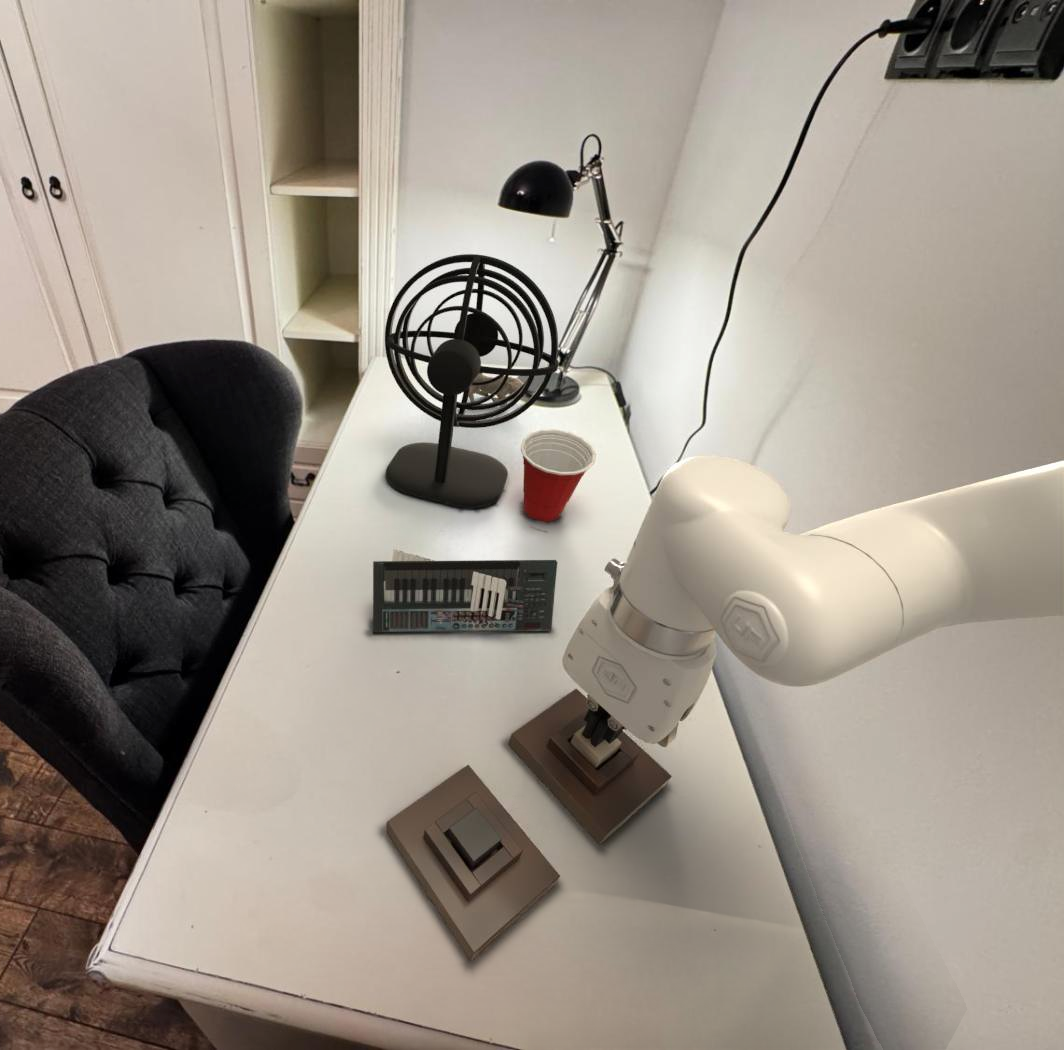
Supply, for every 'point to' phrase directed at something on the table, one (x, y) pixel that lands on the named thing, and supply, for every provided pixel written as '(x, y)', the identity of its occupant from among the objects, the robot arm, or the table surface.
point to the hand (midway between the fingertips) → (598, 733)
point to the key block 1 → (454, 888)
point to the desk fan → (464, 380)
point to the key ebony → (474, 837)
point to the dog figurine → (494, 387)
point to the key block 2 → (587, 768)
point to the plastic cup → (552, 470)
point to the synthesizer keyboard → (462, 595)
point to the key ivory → (594, 748)
